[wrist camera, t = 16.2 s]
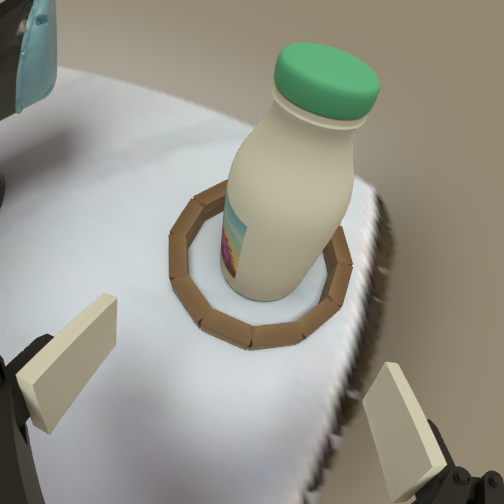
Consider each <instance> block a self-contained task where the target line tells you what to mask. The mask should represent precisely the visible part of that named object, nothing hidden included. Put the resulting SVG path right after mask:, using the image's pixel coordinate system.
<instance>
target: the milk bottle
mask: <svg viewBox="0 0 504 504" xmlns="http://www.w3.org/2000/svg"><path fill="white" fill-rule="evenodd" d="M379 91H380V81H379V79H378V77H377V75H376V74H375V72H374V71H373V70H372V69H371V68H370V67H369V66H367V65H366V64H365V63H364V62H362V61H361V60H359V59H358V58H356V57H354V56H352V55H350V54H348V53H346V52H343V51H341V50H339V49H336V48H333V47H329V46H326V45H321V44H314V43H295V44H291V45H288V46H286V47H284V48H283V49H282V50H281V52H280V54H279V55H278V58H277V62H276V66H275V72H274V82H273V83H272V86H271V93H272V96H273V98H274V101H273V103H272V105H271V107H270V109H269V111H268V112H267V114H266V115H265V117H264V118H263V120H262V121H261V122H260V123H259V124H258V125H257V127H256V128H255V129H254V130H253V131H252V132H251V133H250V134H249V135H248V137H247V138H246V139H245V140H244V142H243V143H242V145H241V146H240V148H239V149H238V151H237V153H236V155H235V158H234V160H233V163H232V166H231V169H230V172H229V177H228V183H227V189H226V196H225V205H224V215H223V227H222V240H221V255H220V261H221V269H222V272H223V275H224V277H225V279H226V280H227V282H228V283H229V285H230V286H231V287H232V288H233V289H234V290H235V291H237V292H238V293H239V294H241V295H243V296H244V297H247V298H249V299H252V300H256V301H273V300H277V299H280V298H283V297H285V296H286V295H288V294H289V293H291V292H292V291H293V290H294V289H295V288H296V287H297V286H298V284H299V283H300V282H301V280H302V279H303V278H304V276H305V275H306V274H307V272H308V271H309V269H310V268H311V267H312V265H313V264H314V262H315V261H316V260H317V258H318V257H319V255H320V254H321V252H322V251H323V249H324V248H325V246H326V245H327V243H328V242H329V240H330V239H331V237H332V236H333V234H334V233H335V231H336V229H337V227H338V226H339V224H340V222H341V221H342V219H343V217H344V215H345V213H346V210H347V208H348V205H349V203H350V199H351V195H352V190H353V181H354V173H353V157H352V156H353V153H352V151H353V139H354V134H355V130H356V128H358V127H360V126H362V125H363V124H364V123H365V121H366V119H367V114H368V113H369V112H370V110H371V109H372V107H373V105H374V103H375V101H376V99H377V96H378V94H379Z"/></svg>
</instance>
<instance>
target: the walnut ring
mask: <svg viewBox="0 0 504 504" xmlns="http://www.w3.org/2000/svg"><path fill="white" fill-rule="evenodd" d="M227 183H228V179H227V180H225V181H223V182H221V183H219V184H217V185H215V186H213V187H211V188H209V189H207V190H205V191H203V192H201V193H199V194H197V195H195V196H193V197H194V199H192V198H191V200H190V201H189V203H188V204H187V206H186V207H185V209H184V210H183V212H182V213H181V215H180V216H179V218H178V219H177V221H176V222H175V224H174V226H173V227H172V229H171V230H170V234H169V279H170V282H171V285H172V288H173V291H174V292H175V294H176V295H177V297H178V298H179V300H180V301H181V303H182V304H183V306H184V307H185V309H186V310H187V312H188V313H189V315H190V316H191V317H192V319H193V320H194V322H195V323H196V325H197V326H198V327H199V328H200V327H201V329H202V331H204V332H206V333H208V334H210V335H213V336H215V337H217V338H219V339H221V340H224V341H226V342H228V343H230V344H233V345H235V346H237V347H240V348H242V349H244V350H246V349H247V347H248V348H249V350H258V349H267V348H275V347H282V346H290V345H295V344H297V343H299V342H301V341H302V340H304V339H306V338H307V337H308V336H309V335H311V334H312V333H313V332H314V331H315V330H317V329H318V328H319V327H320V326H321V325H322V324H324V323H325V322H326V321H327V320H328V319H329V318H331V317H332V316H333V315H334V314H335V313H336V312H337V311H339V310H340V309H341V307H342V305H343V302H344V298H345V295H346V291H347V288H348V284H349V280H350V276H351V273H352V269H353V267H352V265H353V263H352V259H351V255H350V252H349V248H348V245H347V242H346V238H345V235H344V232H343V228H342V226H338V227H337V229H336V231H335V233H334V234H333V236H332V237H331V239H330V240H329V242H328V243H327V245H326V246H325V248H324V249H323V255H324V259H325V263H326V267H327V271H328V276H327V279H326V282H325V286H324V289H323V292H322V295H321V298H320V301H319V304H318V305H317V306H316V307H314V308H313V309H312V310H311V311H310V312H308V313H307V314H306V315H305V316H303V317H302V318H301V319H299V320H298V321H297V322H289V323H280V324H271V325H262V326H251V325H249V324H247V323H245V322H242V321H240V320H238V319H235V318H233V317H231V316H229V315H226V314H224V313H222V312H220V311H217V310H215V309H213V308H212V307H211V306H210V305H209V303H208V302H207V300H206V299H205V298H204V296H203V295H202V293H201V292H200V291H199V289H198V288H197V286H196V285H195V284H194V282H193V281H192V279H191V278H190V276H189V268H188V248H189V246H190V245H191V243H192V241H193V240H194V238H195V236H196V234H197V233H198V231H199V229H200V228H201V226H202V224H203V223H204V221H205V220H207V219H209V218H211V217H213V216H214V215H216V214H218V213H220V212H222V211H224V205H225V196H226V189H227ZM339 225H340V224H339Z"/></svg>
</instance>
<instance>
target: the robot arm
mask: <svg viewBox="0 0 504 504" xmlns="http://www.w3.org/2000/svg"><path fill="white" fill-rule="evenodd" d="M56 25H57V24H56V3H55V0H0V121H1V120H3V119H5V118H7V117H9V116H11V115H12V114H14V113H17V114H19V113H21V112H22V110H23V109H24V108H26V107H28V106H30V105H32V104H34V103H36V102H38V101H40V100H42V99H44V98H45V97H47V96H48V95H49V94H50V93H51V91H52V90H53V88H54V86H55V83H56V77H57V26H56ZM3 195H4V180H3V177H2V175H1V173H0V206H1V203H2V199H3ZM116 320H117V297H114V296H111V295H108V294H105V293H103V294H102V295H101V296H100V297H98V298H97V299H96V300H95V301H94V302H93V303H92V304H90V305H89V306H88V307H87V308H86V309H85V310H84V311H82V312H81V313H80V314H79V315H78V316H77V317H76V318H75V319H74V320H72V321H71V322H70V323H69V324H68V325H67V326H66V327H65V328H64V329H63V330H62V331H60V332H59V333H58V334H57V335H56V336H55V337H53V336H51V335H49V334H45V335H43V336H40V337H38V338H36V339H35V340H34V341H33V342H32V343H31V344H30V345H29V346H27V347H26V348H25V349H24V351H22V352H21V353H20V354H19V355H17V356H16V357H15V358H14V359H13V360H12V361H11V362H10V363H9V364H8V365H7V366H6V367H5V364H4V360H3V358H2V357H1V356H0V504H45V502H44V498H43V495H42V492H41V488H40V485H39V481H38V477H37V473H36V469H35V465H34V461H33V456H32V451H31V446H30V441H29V435H28V429H27V425H26V421H27V420H28V418H29V417H31V420H32V422H33V425H34V426H36V427H37V428H39V429H40V430H42V431H44V432H46V433H47V434H49V435H50V433H51V432H52V430H53V429H54V427H55V426H56V425H57V423H58V422H59V420H60V419H61V417H62V416H63V415H64V413H65V412H66V410H67V409H68V408H69V406H70V405H71V403H72V402H73V401H74V399H75V398H76V397H77V395H78V394H79V393H80V391H81V390H82V388H83V387H84V386H85V384H86V383H87V382H88V380H89V379H90V378H91V376H92V375H93V374H94V372H95V371H96V370H97V368H98V367H99V366H100V364H101V363H102V362H103V361H104V359H105V358H106V357H107V355H108V354H109V353H110V351H111V350H112V349H113V348H114V346H115V345H116ZM362 402H363V405H364V408H365V412H366V415H367V418H368V421H369V424H370V428H371V431H372V434H373V438H374V441H375V445H376V448H377V451H378V455H379V459H380V462H381V466H382V469H383V473H384V477H385V480H386V484H387V488H388V492H389V496H390V500H391V503H398V502H405V501H407V500H408V499H410V498H411V497H412V496H413V495H414V494H415V496H416V499H417V500H415V501H414V502H413V503H411V504H504V482H503V479H502V477H501V476H500V474H499V473H497V472H495V471H488V472H486V473H485V475H483V476H482V477H481V478H479V477H471V475H470V474H469V472H468V471H467V470H465V469H464V468H462V467H458V466H457V467H456V466H455V464H454V462H453V460H452V458H451V456H450V453H449V451H448V449H447V447H446V445H445V444H444V441H443V439H442V437H441V434H440V432H439V430H438V428H437V427H436V426H435V425H434V423H432V421H431V420H426V418H425V416H424V413H423V412H422V409H421V407H420V405H419V404H418V402H417V400H416V397H415V396H414V394H413V392H412V390H411V388H410V386H409V384H408V382H407V380H406V378H405V377H404V374H403V373H402V371H401V369H400V367H399V365H398V364H397V363H391V362H385V363H384V365H383V367H382V369H381V370H380V372H379V374H378V376H377V377H376V379H375V381H374V383H373V384H372V386H371V388H370V389H369V391H368V393H367V394H366V396H365V397H364V399H363V401H362Z"/></svg>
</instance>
